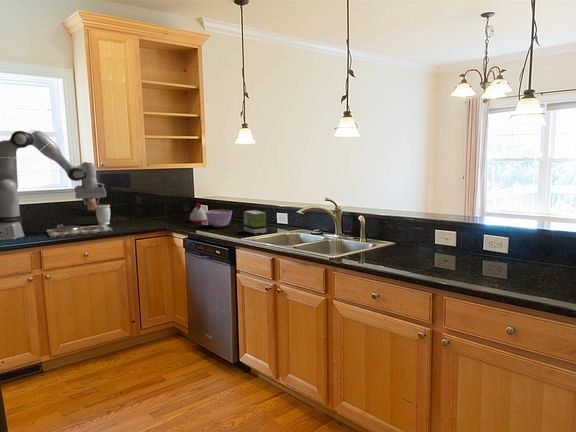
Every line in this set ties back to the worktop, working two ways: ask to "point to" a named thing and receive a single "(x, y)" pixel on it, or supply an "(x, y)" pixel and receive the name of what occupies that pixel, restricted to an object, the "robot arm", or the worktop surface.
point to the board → (81, 230)
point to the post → (67, 228)
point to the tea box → (254, 221)
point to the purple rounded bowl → (219, 217)
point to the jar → (103, 214)
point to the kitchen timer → (198, 214)
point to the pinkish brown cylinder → (91, 203)
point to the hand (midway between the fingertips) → (91, 204)
